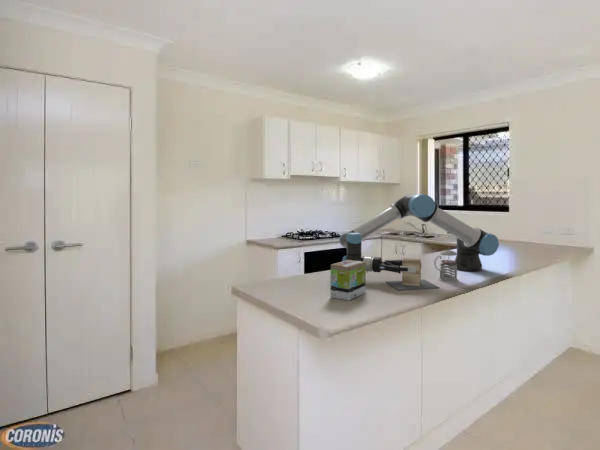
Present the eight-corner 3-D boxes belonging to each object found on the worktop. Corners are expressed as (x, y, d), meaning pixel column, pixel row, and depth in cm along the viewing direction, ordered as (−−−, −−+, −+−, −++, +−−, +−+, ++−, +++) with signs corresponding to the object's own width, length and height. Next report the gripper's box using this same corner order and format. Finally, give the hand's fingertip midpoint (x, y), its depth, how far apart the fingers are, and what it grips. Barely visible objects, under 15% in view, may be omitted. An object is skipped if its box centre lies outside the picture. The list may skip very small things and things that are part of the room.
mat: (424, 280, 185) (424, 279, 185) (439, 288, 169) (439, 287, 169) (386, 282, 182) (386, 281, 182) (398, 290, 167) (398, 289, 167)
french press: (461, 282, 178) (461, 232, 176) (436, 282, 180) (436, 232, 178) (456, 278, 187) (457, 230, 185) (433, 277, 190) (433, 230, 188)
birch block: (403, 282, 180) (403, 258, 179) (421, 283, 176) (421, 259, 175) (402, 284, 175) (402, 260, 174) (420, 286, 172) (420, 261, 171)
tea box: (350, 301, 152) (349, 266, 151) (329, 297, 158) (329, 264, 157) (366, 293, 164) (366, 260, 163) (347, 290, 170) (346, 258, 169)
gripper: (378, 267, 194) (419, 269, 185) (367, 277, 171) (414, 280, 163) (378, 253, 193) (419, 254, 185) (367, 261, 171) (414, 263, 162)
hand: (417, 266), depth 174 cm, fingers open, 13 cm apart
